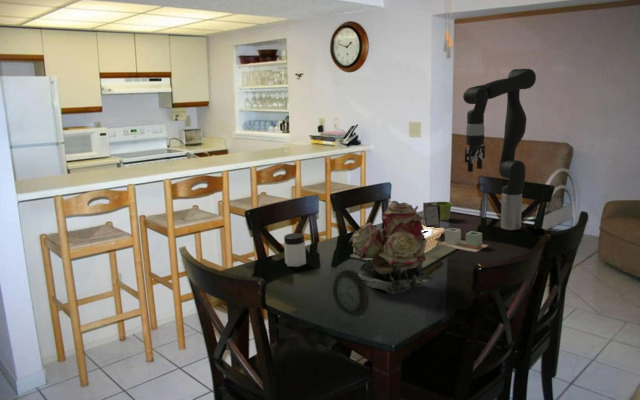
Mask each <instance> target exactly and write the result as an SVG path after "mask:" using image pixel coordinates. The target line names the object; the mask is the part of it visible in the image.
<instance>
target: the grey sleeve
mask: <svg viewBox="0 0 640 400" xmlns="http://www.w3.org/2000/svg"><path fill="white" fill-rule="evenodd" d="M461 240H462V229H461V228H457V227H456V228H454V227H449V228H447V229H445V230H444V241H445V243H446V244H451V245H456V244H459V243H461Z"/></svg>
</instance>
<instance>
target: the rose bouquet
mask: <svg viewBox="0 0 640 400" xmlns="http://www.w3.org/2000/svg"><path fill="white" fill-rule="evenodd" d="M418 209H419V206H418V205H416V206H415V208H414V207H413V205H411V204H409V202H408V203H406V202H401V203H400V202H399V201H397V200H391V201H390V204H387V208H386V210H385V211H384V212H383V213H382V214H381V215H382V216H381V219H382V222H383V224H384V226H383V228H379V227H376V226H375V225H373V224H372V223H371V222H368V223H367V224H366V223H365V224H363V225H361V226H360V227H359V228H358V232H356V233H355V234H353V235H352V237H353V238H352V240H351V241H352V244H351V247H353V249H352V250H353V252H352V253H353V254H354V255H355V256H357V257H358V260H363V259H368V260H367V261H366V262H365V263H363V264H362V265H361V266H360V269H359V272H358V274H357V276H358V277H359V278H360V279H362V280H363V281H367V282H368V283H367V284H366V286H368V287H369V288H372V289H377V290H378V289H379V290H382V291H385V292H386V293H387V294H389V295H395V294H400V293H403V292H406V291H407V290H410V289H413V288H417V287H423V285H421V282H425V283H426V282H428V281H430V279H429V277H428V274H427V273H426V272H425V270H424V269H423V264H424V262H425V261H427V260H426V256H425V249H426V246H427V243H428V241H427V238H426V237H425V235H424V233H426V232H428V231H424V232H423V230H424V229H423V222H422V220H423V219H424V220H425V218H424V216H423V215H420V214H417V210H418ZM415 273H416V274H415Z"/></svg>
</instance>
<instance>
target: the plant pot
mask: <svg viewBox="0 0 640 400" xmlns="http://www.w3.org/2000/svg"><path fill="white" fill-rule="evenodd" d="M436 202H437V203H438V204H439V205H440V222H441V221H449V220H450V213H451V208H452V205H453V202H450V201H436Z"/></svg>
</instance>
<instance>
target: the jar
mask: <svg viewBox="0 0 640 400" xmlns="http://www.w3.org/2000/svg"><path fill="white" fill-rule="evenodd" d="M283 239H284V242H283V245H284V246H283V248H284V264H286V266H287V267H292V268H293V267H294V268H299V267H303V266H304V265H307V258H306V257H307V254H306V253H307V252H306V242H305V235H304V234H303V233H301V232H300V233H299V232H294V233H287V234H284V237H283Z"/></svg>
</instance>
